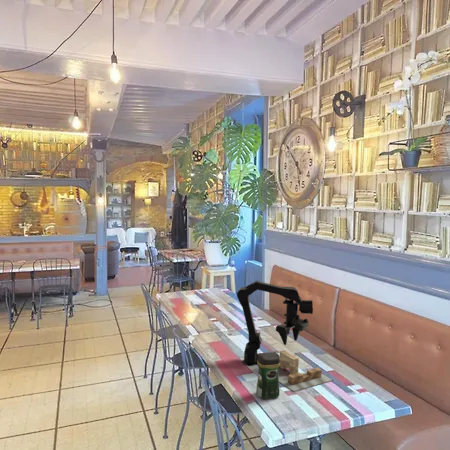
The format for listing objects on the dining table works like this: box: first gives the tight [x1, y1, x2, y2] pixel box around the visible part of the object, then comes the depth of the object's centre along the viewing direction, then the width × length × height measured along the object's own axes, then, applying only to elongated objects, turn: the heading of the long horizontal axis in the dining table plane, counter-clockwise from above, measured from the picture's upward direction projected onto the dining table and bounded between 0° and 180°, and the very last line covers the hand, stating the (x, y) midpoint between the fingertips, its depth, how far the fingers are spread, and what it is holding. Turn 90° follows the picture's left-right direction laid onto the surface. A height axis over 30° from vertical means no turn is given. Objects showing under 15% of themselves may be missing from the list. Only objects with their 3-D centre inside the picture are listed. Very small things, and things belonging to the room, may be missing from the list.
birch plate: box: [279, 350, 300, 375], centre depth 185 cm, size 3×11×8 cm, turn 30°
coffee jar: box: [255, 351, 280, 400], centre depth 160 cm, size 10×8×19 cm
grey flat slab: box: [278, 367, 334, 393], centre depth 175 cm, size 24×12×4 cm, turn 120°
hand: (290, 342), depth 189 cm, fingers open, 9 cm apart
